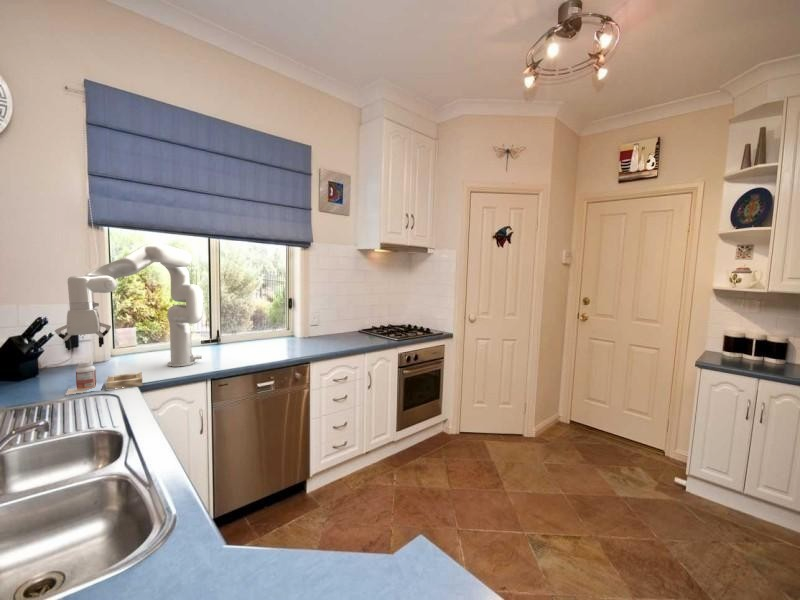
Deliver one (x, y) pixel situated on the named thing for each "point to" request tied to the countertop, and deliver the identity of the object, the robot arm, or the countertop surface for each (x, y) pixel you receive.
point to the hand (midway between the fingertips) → (85, 348)
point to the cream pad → (74, 391)
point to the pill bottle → (85, 375)
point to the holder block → (124, 380)
